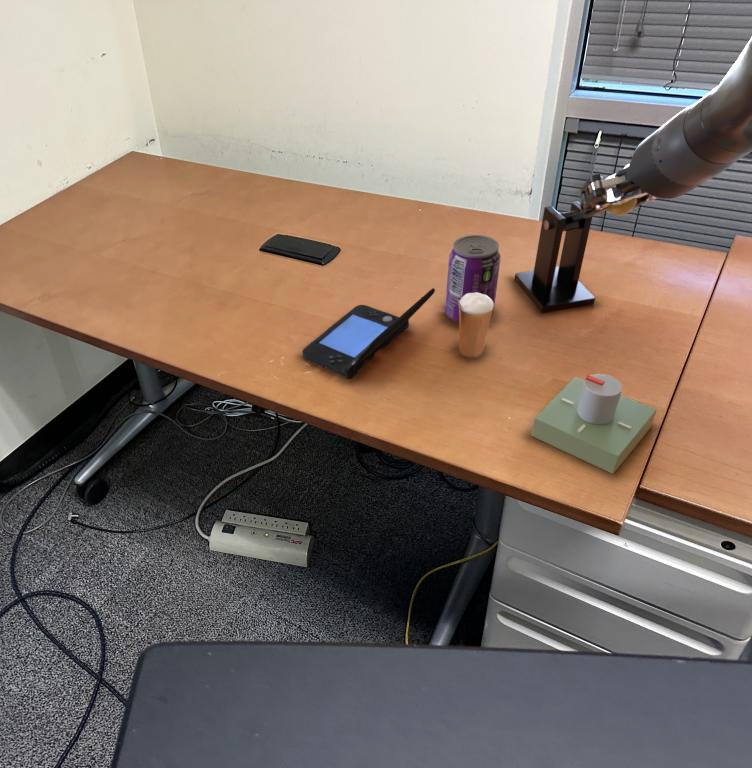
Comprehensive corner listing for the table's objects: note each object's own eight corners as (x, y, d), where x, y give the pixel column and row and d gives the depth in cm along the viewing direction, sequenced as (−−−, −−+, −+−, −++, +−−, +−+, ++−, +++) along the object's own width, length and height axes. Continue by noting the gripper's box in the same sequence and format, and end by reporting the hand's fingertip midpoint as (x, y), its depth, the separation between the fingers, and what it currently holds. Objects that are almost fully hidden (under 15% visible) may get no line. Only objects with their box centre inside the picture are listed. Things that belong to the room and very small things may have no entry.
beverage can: (495, 327, 102) (505, 257, 94) (445, 328, 103) (451, 258, 96) (490, 301, 107) (499, 232, 100) (443, 302, 109) (448, 233, 101)
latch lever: (645, 209, 84) (641, 179, 84) (616, 214, 84) (612, 184, 84) (575, 233, 101) (571, 209, 101) (551, 237, 101) (547, 213, 101)
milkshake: (443, 348, 100) (447, 290, 93) (475, 338, 101) (482, 279, 94) (460, 365, 96) (466, 306, 90) (494, 355, 97) (502, 295, 91)
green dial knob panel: (650, 427, 83) (657, 408, 81) (612, 474, 78) (619, 455, 76) (570, 394, 89) (574, 375, 87) (530, 435, 85) (534, 417, 83)
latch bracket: (593, 304, 103) (614, 221, 95) (541, 313, 103) (557, 230, 94) (562, 271, 111) (578, 191, 102) (514, 279, 111) (526, 200, 102)
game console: (359, 309, 110) (359, 260, 104) (435, 337, 102) (439, 285, 96) (298, 359, 102) (293, 308, 96) (374, 393, 94) (375, 340, 88)
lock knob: (620, 411, 82) (629, 380, 79) (604, 429, 80) (613, 398, 77) (586, 397, 84) (594, 367, 81) (570, 415, 82) (578, 384, 79)
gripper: (630, 194, 72) (557, 243, 89) (764, 172, 72) (666, 225, 89) (614, 127, 72) (545, 188, 89) (747, 105, 72) (653, 170, 89)
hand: (606, 206), depth 89 cm, fingers open, 4 cm apart
